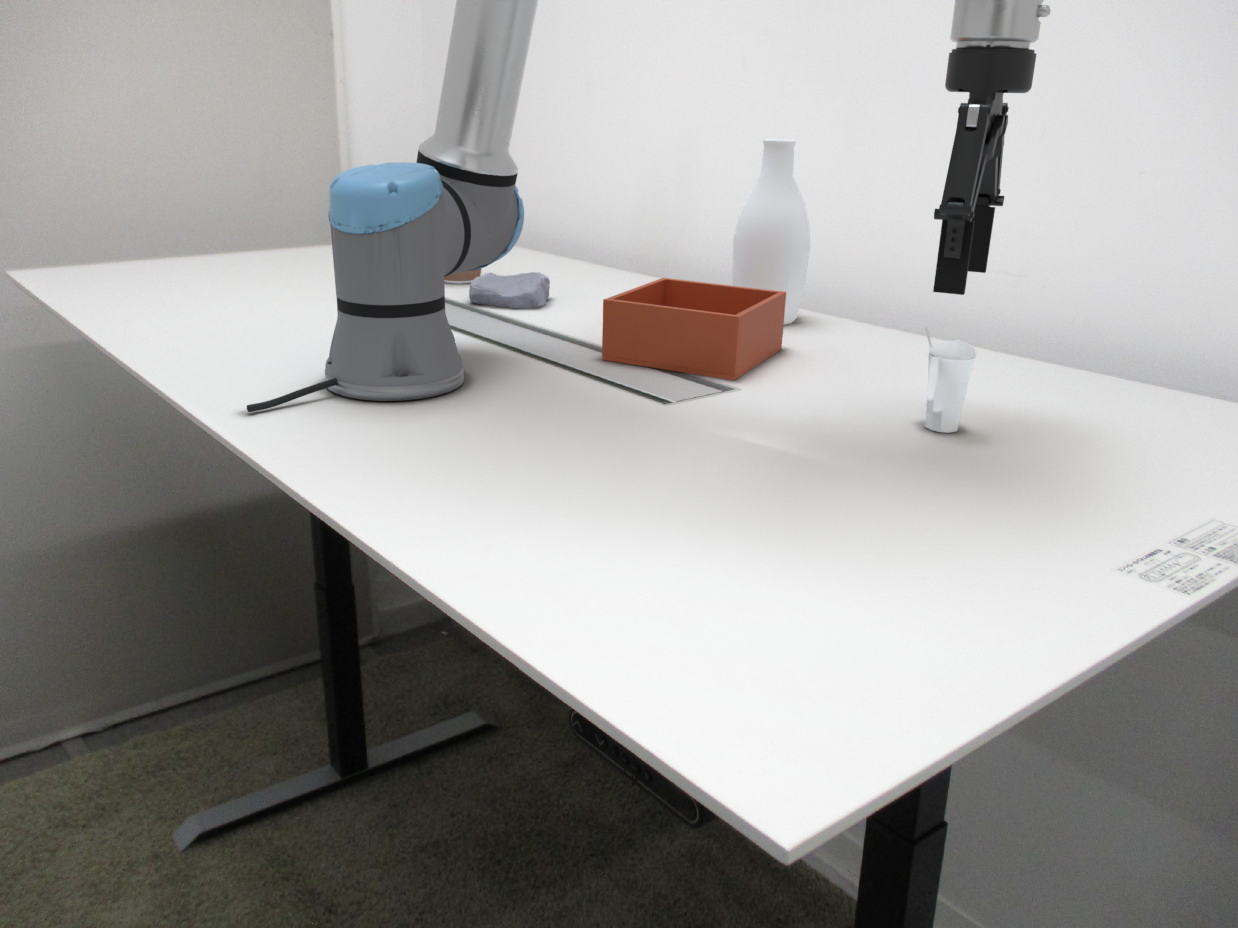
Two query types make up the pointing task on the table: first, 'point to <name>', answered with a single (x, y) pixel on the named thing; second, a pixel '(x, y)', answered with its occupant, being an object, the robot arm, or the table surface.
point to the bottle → (774, 230)
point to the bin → (693, 327)
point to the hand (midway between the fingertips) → (960, 281)
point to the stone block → (510, 290)
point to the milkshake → (947, 383)
